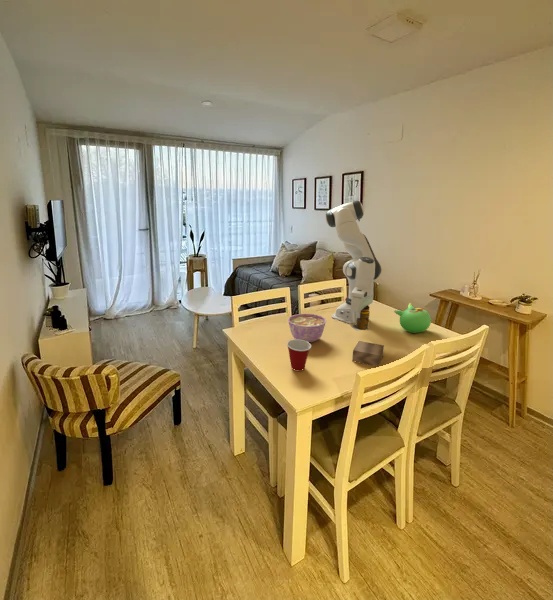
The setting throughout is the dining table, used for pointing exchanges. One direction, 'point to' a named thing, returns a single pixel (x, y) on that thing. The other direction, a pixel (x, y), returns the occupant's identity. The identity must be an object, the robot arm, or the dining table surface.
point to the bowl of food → (307, 326)
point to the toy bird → (414, 319)
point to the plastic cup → (298, 353)
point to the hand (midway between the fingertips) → (361, 315)
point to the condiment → (362, 320)
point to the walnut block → (368, 353)
